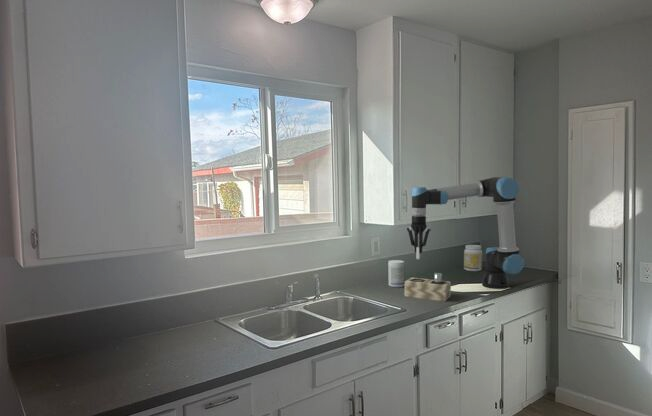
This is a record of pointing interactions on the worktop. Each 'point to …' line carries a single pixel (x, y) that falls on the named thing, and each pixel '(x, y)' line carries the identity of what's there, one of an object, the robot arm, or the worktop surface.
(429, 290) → the block
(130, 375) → the worktop surface
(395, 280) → the supplement tub
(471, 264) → the supplement tub
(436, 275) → the inner peg
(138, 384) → the worktop surface
